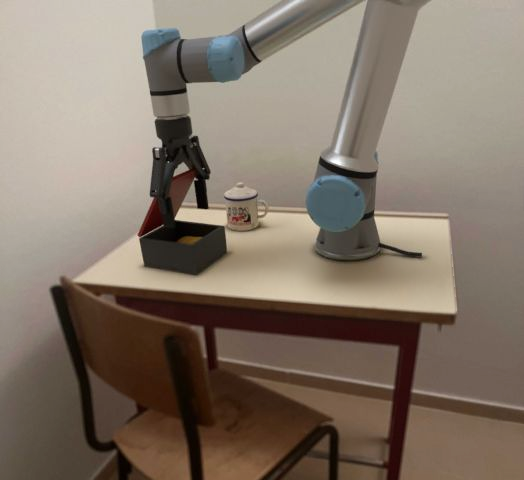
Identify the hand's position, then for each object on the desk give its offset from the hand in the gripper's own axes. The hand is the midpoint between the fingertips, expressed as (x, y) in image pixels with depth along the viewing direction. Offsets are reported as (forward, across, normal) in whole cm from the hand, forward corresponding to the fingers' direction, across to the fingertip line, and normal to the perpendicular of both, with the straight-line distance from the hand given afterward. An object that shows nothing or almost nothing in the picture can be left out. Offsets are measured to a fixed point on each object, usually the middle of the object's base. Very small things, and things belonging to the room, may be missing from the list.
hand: (187, 217), depth 118 cm
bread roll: (+9, 0, 0) cm, 9 cm away
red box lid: (-3, 0, -4) cm, 5 cm away
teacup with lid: (+11, -26, +1) cm, 28 cm away
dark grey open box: (+10, 0, -2) cm, 11 cm away
